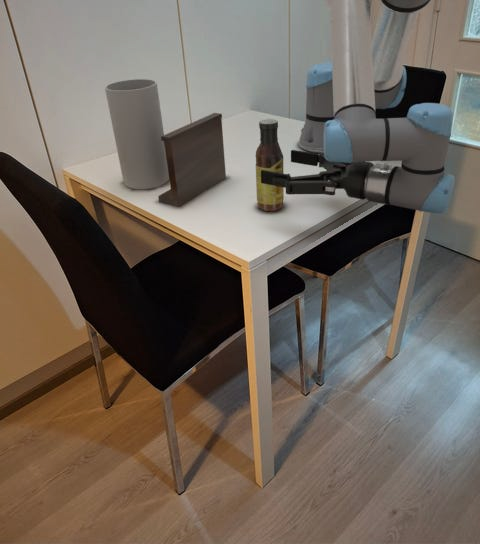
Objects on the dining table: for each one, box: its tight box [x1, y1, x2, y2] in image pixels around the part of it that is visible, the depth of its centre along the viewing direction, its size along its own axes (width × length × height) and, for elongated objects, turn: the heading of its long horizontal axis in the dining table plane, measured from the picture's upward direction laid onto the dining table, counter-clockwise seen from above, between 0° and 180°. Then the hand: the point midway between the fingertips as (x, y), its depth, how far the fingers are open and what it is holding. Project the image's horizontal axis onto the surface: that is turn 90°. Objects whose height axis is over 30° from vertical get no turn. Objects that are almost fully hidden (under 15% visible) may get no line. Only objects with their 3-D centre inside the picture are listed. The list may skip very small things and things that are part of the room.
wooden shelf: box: [157, 112, 227, 208], centre depth 120 cm, size 6×21×17 cm, turn 147°
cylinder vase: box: [104, 78, 170, 190], centre depth 125 cm, size 12×12×25 cm
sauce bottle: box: [255, 118, 285, 212], centre depth 109 cm, size 7×6×20 cm
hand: (277, 165), depth 107 cm, fingers open, 13 cm apart
